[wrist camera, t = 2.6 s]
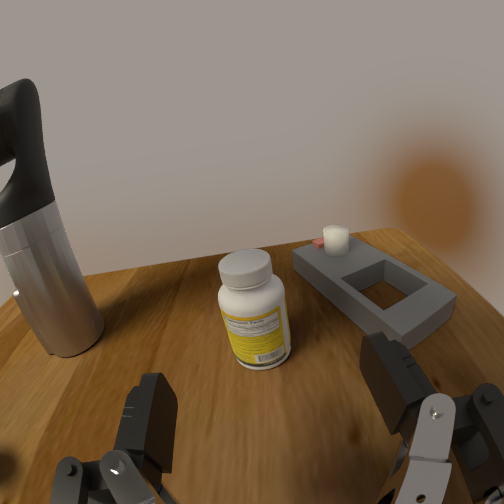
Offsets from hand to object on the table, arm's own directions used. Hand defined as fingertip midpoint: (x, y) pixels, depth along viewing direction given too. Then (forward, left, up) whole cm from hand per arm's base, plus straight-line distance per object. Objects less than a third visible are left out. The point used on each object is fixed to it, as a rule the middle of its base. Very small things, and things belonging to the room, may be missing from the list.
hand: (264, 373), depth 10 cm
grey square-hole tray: (+17, +13, -10) cm, 24 cm away
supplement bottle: (+3, +11, -11) cm, 16 cm away
